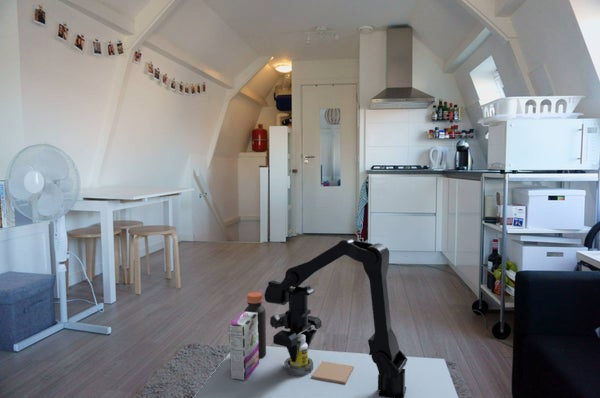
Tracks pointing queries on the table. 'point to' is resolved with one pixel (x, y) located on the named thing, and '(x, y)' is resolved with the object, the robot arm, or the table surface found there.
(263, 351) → the vinegar
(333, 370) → the mat
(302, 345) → the supplement bottle
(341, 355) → the table surface
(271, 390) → the table surface
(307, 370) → the collar
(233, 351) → the candy bar box
